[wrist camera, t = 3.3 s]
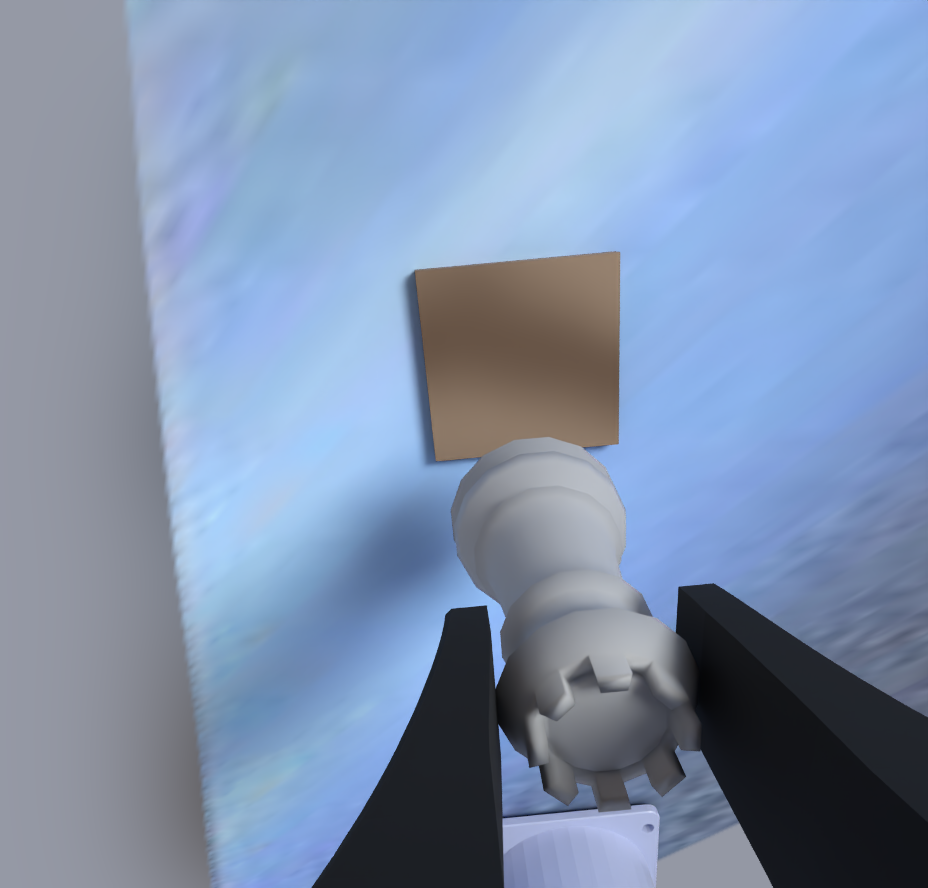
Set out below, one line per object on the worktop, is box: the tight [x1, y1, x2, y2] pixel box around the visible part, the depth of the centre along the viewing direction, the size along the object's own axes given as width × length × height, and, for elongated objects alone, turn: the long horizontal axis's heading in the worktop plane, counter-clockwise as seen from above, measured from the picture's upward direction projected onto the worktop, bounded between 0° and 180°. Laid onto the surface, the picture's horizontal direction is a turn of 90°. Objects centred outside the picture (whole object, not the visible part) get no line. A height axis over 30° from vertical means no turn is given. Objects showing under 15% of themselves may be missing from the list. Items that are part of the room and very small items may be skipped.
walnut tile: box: [415, 251, 620, 461], centre depth 19 cm, size 6×6×1 cm
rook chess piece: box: [451, 437, 702, 813], centre depth 12 cm, size 4×4×8 cm
